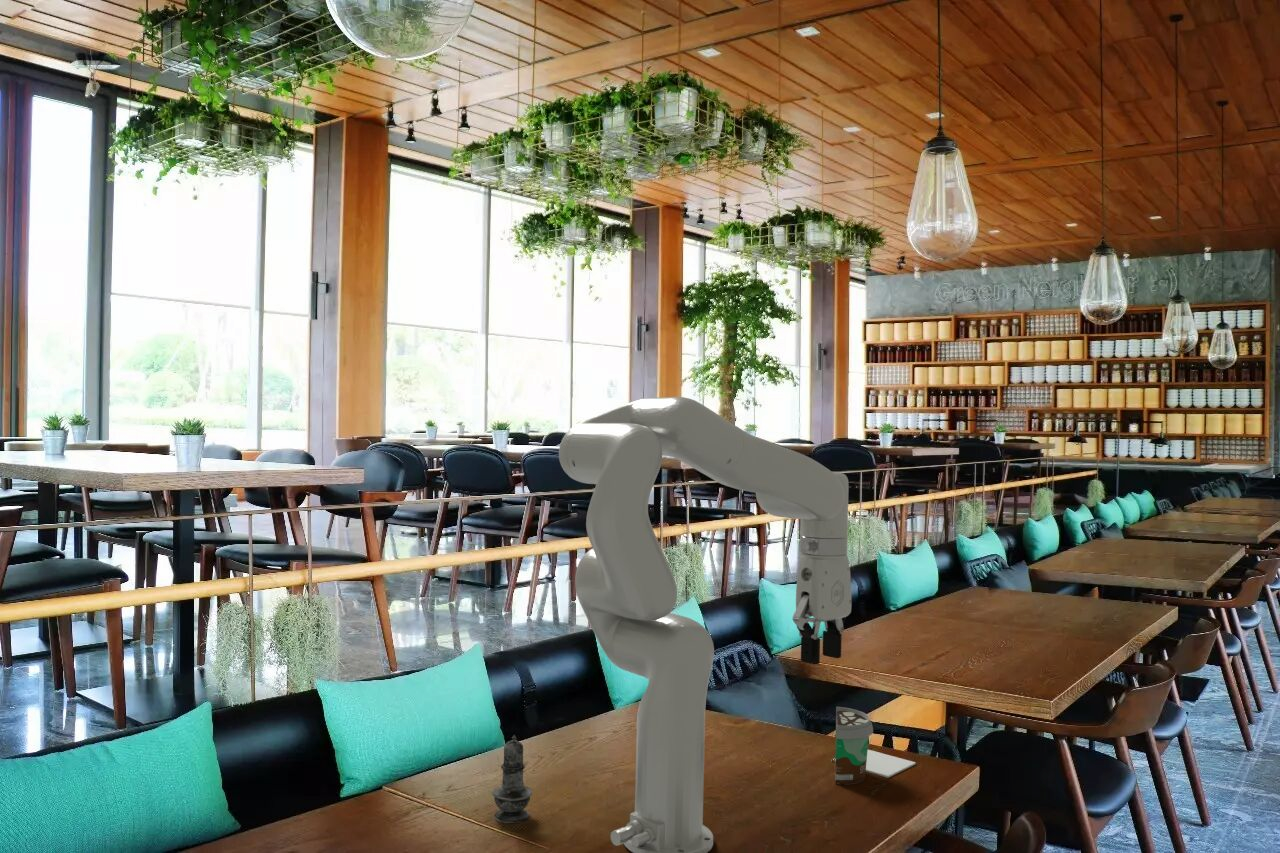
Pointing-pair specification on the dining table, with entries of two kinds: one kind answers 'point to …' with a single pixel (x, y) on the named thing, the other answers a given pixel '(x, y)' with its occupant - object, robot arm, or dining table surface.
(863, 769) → the food container
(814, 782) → the dining table surface
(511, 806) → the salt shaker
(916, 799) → the dining table surface
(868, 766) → the mat
